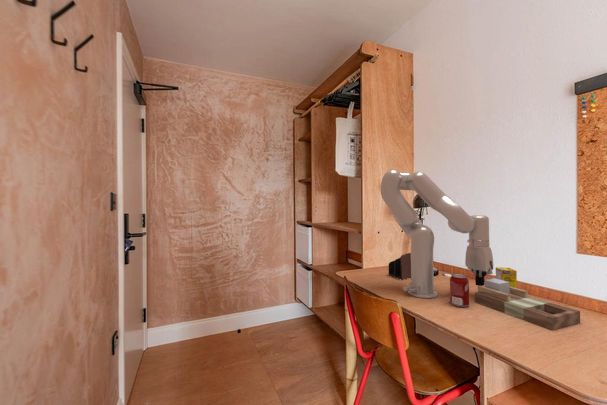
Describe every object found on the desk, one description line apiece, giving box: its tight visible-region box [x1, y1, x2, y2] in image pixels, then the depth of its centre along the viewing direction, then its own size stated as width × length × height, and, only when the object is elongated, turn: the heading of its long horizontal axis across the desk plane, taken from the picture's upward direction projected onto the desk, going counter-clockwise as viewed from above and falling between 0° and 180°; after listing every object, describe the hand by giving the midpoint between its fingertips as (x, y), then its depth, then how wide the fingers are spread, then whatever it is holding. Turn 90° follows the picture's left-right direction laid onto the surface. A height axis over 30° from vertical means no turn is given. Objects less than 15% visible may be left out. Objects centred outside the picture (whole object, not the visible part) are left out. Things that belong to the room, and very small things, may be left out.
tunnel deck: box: [474, 285, 581, 331], centre depth 103 cm, size 15×27×6 cm, turn 20°
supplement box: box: [495, 266, 518, 288], centre depth 124 cm, size 6×6×11 cm
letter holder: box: [387, 252, 411, 281], centre depth 155 cm, size 10×20×14 cm, turn 118°
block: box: [484, 277, 510, 294], centre depth 112 cm, size 6×6×5 cm
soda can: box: [449, 273, 470, 308], centre depth 110 cm, size 7×7×12 cm
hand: (479, 285), depth 119 cm, fingers closed
